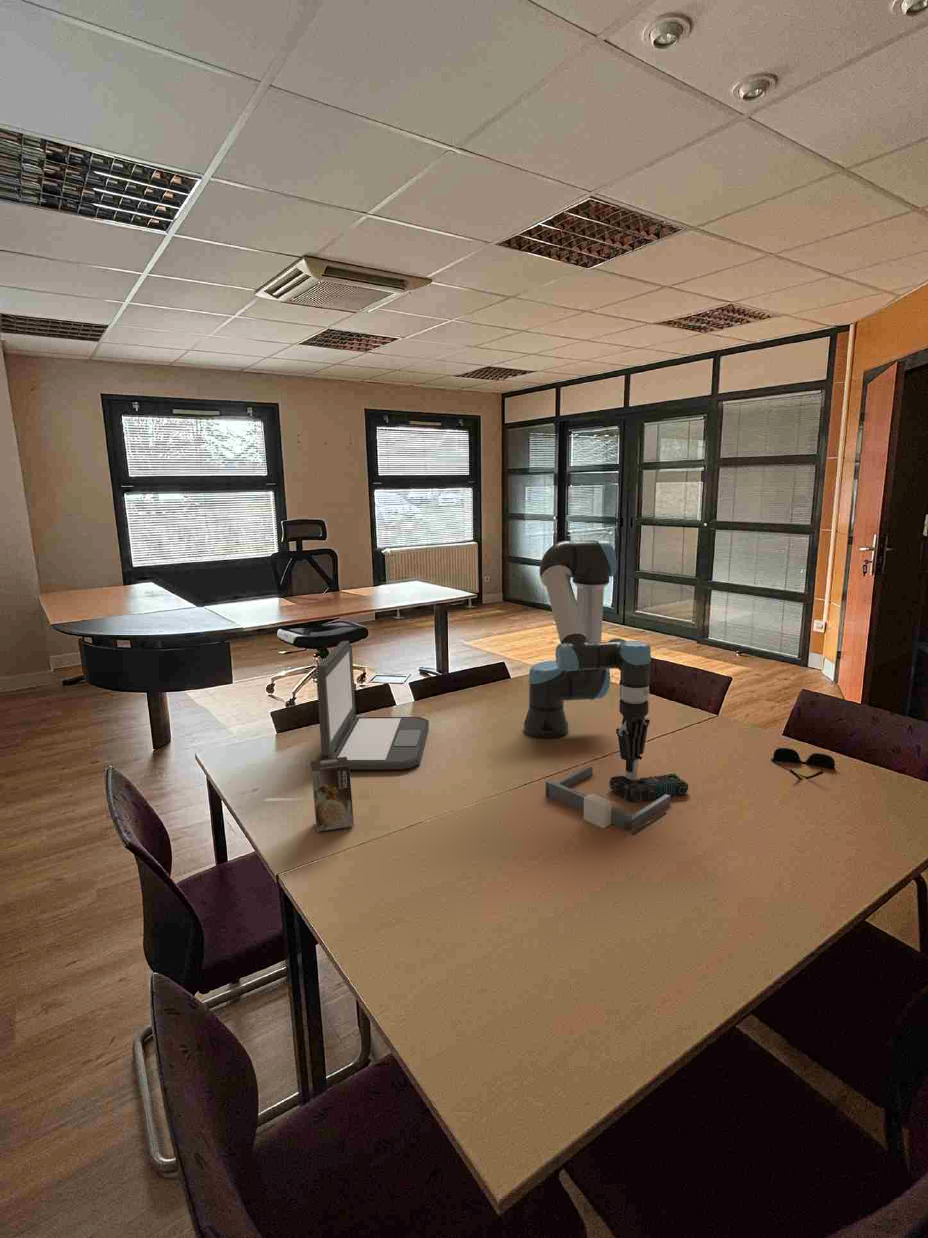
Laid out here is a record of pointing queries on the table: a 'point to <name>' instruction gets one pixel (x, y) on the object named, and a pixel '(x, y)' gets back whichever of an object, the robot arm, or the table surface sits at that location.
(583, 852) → the table surface
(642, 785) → the toy gun
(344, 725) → the laptop
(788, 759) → the sunglasses
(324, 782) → the coffee box
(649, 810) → the dock
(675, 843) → the table surface
